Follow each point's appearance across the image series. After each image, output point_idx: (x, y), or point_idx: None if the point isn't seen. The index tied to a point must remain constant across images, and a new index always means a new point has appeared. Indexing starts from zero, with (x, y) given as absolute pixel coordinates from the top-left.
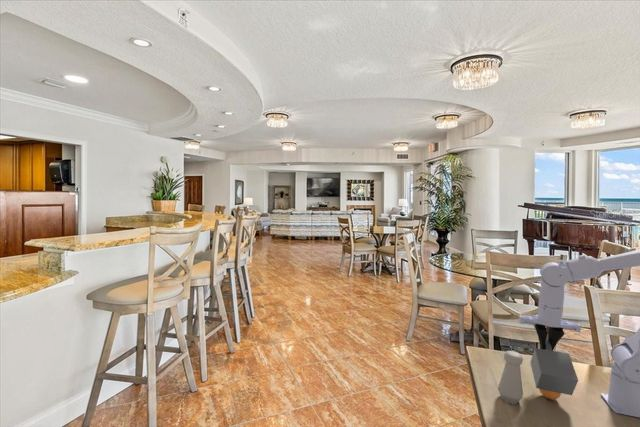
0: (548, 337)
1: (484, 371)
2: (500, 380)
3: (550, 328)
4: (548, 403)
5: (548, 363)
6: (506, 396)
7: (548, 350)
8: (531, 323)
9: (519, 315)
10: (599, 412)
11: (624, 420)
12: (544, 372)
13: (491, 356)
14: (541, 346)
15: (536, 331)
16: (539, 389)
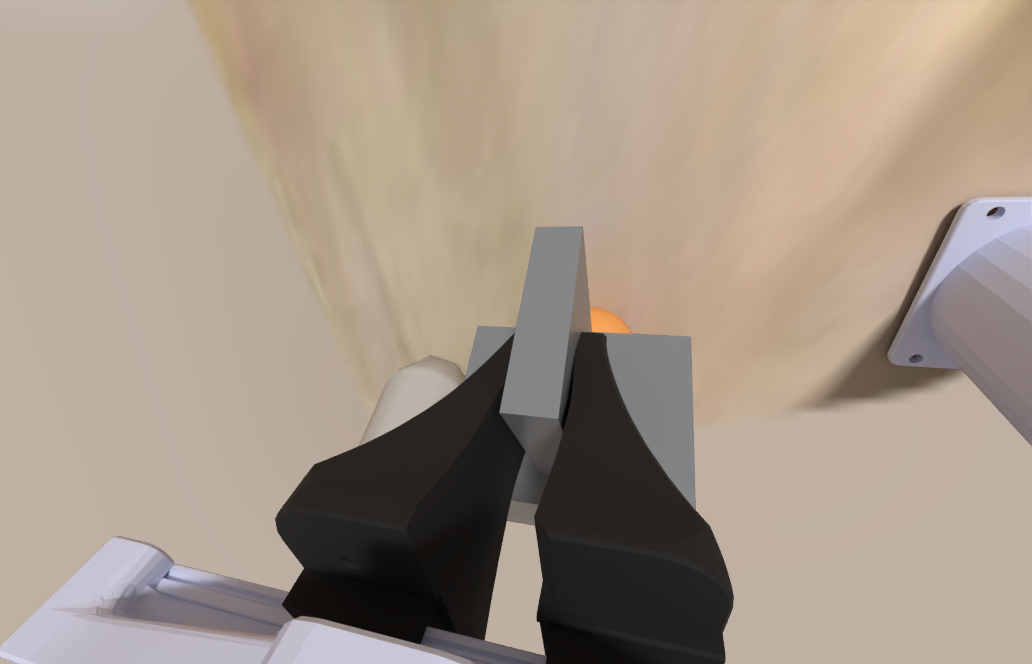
0: (560, 427)
1: (319, 204)
2: (377, 403)
3: (545, 579)
4: None
5: (529, 516)
6: None
7: (533, 504)
8: (262, 614)
9: (13, 649)
10: (794, 368)
11: (889, 393)
12: (508, 519)
13: None
14: None
15: (403, 430)
16: None
